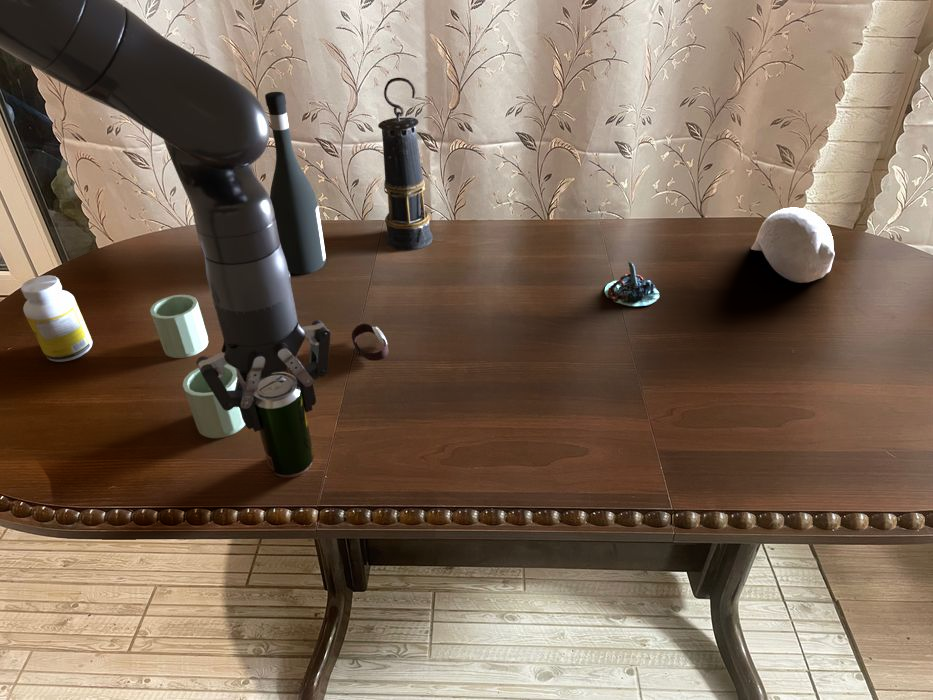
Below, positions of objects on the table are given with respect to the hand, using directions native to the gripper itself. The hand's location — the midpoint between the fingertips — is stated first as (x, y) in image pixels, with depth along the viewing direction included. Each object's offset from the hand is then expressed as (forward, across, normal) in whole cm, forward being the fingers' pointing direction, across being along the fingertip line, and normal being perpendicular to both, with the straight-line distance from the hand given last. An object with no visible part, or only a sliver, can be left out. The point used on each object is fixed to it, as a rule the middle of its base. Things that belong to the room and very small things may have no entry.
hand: (281, 416), depth 74 cm
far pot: (+7, +5, -32) cm, 33 cm away
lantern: (+8, -40, -45) cm, 61 cm away
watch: (+8, -18, -16) cm, 25 cm away
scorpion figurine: (+8, -62, -7) cm, 63 cm away
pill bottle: (+8, +20, -40) cm, 45 cm away
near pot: (+7, +5, -12) cm, 15 cm away
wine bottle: (+8, -19, -46) cm, 50 cm away
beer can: (+8, 0, 0) cm, 8 cm away
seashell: (+8, -92, +1) cm, 92 cm away
